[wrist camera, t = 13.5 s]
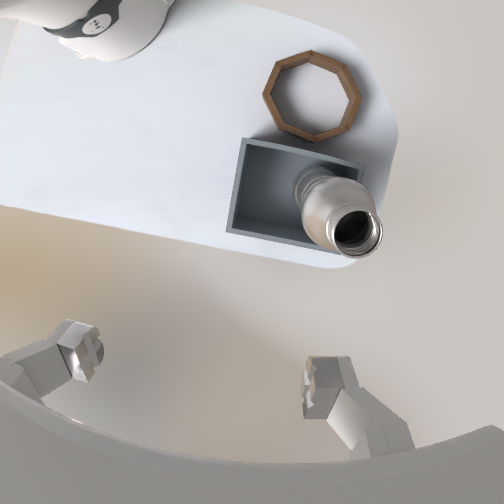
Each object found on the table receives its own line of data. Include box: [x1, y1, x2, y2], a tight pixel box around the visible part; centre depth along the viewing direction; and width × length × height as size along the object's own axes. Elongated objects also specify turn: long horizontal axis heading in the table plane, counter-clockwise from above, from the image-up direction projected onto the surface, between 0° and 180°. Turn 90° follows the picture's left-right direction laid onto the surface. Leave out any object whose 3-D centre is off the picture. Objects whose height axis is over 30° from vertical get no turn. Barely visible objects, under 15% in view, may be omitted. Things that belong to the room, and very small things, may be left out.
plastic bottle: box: [291, 166, 383, 259], centre depth 27 cm, size 6×7×20 cm
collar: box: [262, 50, 362, 143], centre depth 31 cm, size 12×12×3 cm
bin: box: [226, 137, 365, 255], centre depth 34 cm, size 14×11×7 cm
